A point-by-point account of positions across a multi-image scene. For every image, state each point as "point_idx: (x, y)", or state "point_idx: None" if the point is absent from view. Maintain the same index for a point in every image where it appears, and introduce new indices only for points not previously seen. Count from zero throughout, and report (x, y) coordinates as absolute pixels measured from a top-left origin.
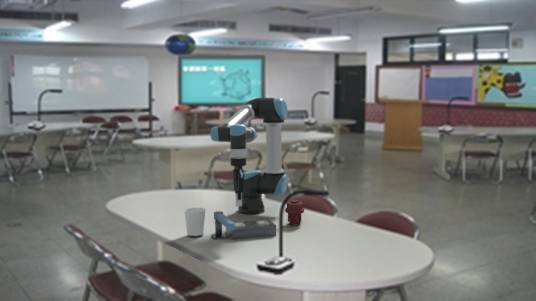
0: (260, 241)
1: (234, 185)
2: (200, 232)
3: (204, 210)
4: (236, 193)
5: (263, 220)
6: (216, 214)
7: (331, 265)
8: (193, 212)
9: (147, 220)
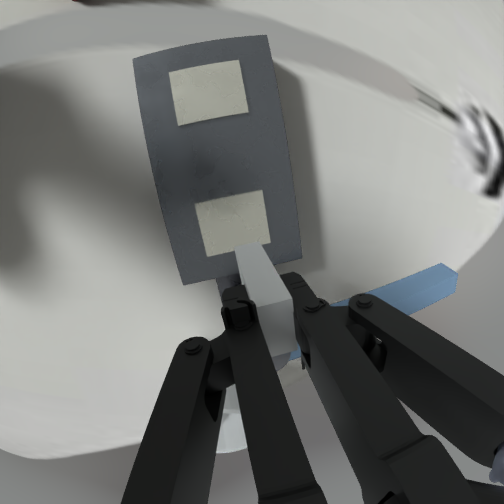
0: (333, 132)
1: (215, 426)
2: None
3: (239, 410)
4: (296, 346)
5: (150, 84)
6: (285, 359)
7: (493, 54)
8: None
9: (76, 437)
